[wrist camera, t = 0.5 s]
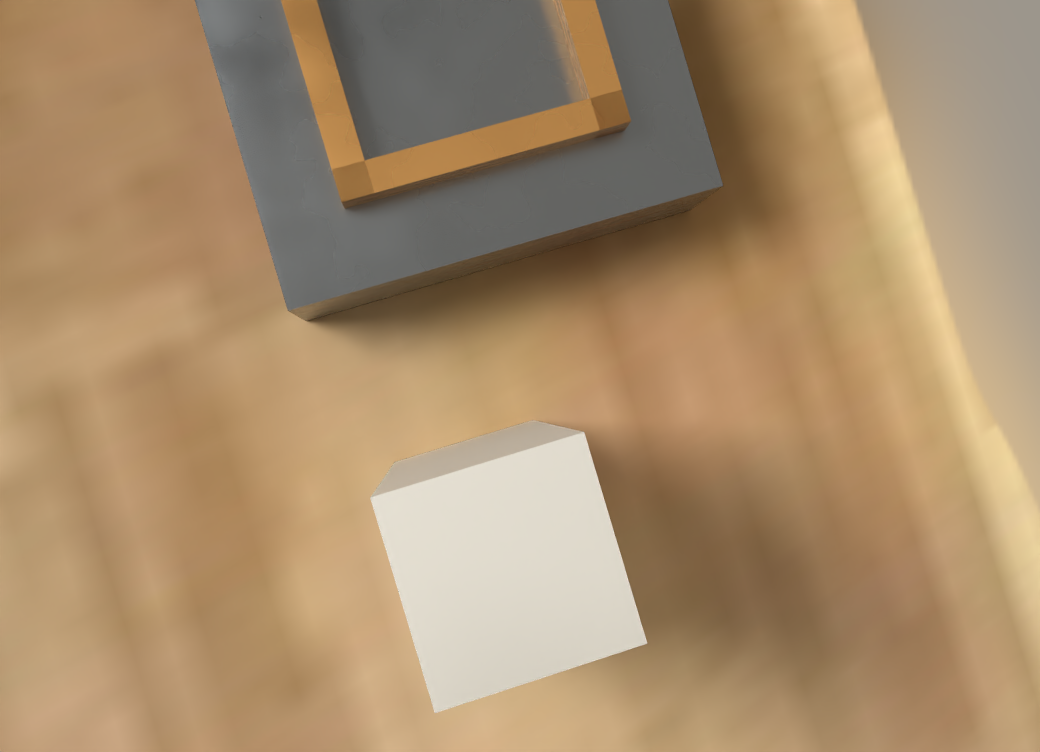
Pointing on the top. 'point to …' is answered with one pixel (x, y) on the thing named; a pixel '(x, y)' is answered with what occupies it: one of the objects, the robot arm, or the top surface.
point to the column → (505, 561)
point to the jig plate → (451, 133)
